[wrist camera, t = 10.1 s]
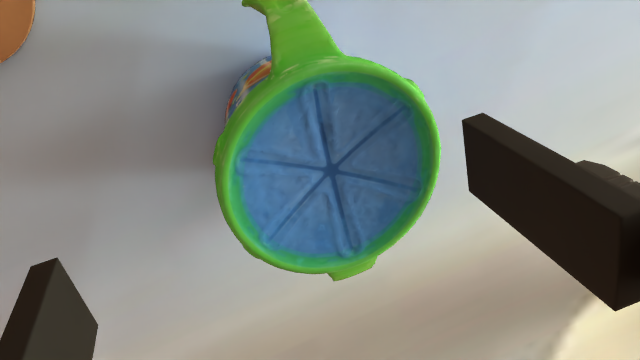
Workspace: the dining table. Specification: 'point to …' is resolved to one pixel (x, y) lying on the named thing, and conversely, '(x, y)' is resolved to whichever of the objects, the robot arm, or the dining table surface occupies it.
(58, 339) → the robot arm
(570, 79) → the dining table surface
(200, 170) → the dining table surface
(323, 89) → the snack cup
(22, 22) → the cork coaster
